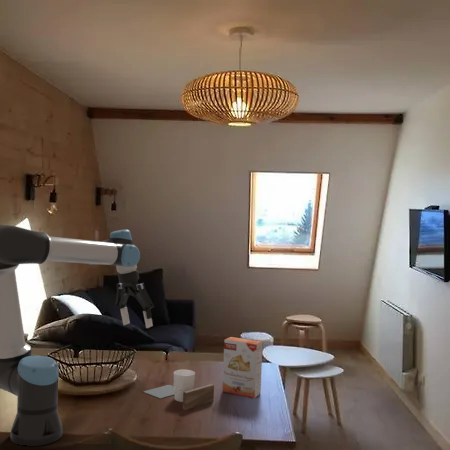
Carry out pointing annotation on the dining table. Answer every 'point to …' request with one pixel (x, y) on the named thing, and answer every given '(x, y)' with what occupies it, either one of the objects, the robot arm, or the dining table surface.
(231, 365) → the cracker box
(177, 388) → the white cup
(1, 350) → the robot arm
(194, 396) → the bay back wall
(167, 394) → the front mat
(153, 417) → the dining table surface
